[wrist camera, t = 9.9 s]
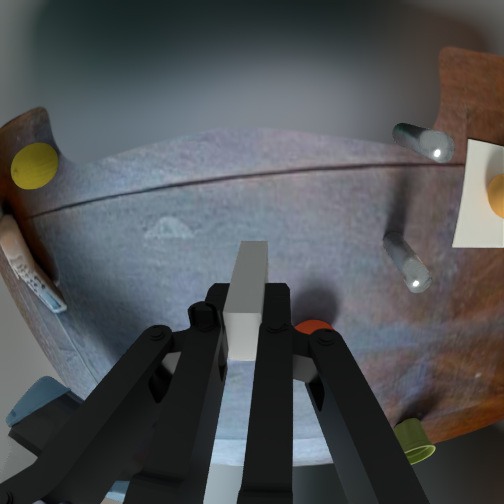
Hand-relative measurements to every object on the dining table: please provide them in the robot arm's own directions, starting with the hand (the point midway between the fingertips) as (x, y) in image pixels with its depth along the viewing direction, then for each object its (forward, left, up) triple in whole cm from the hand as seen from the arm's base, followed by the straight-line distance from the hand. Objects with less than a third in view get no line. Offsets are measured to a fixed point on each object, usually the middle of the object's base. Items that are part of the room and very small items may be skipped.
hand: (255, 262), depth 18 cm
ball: (+30, +1, -14) cm, 33 cm away
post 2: (+15, -6, -16) cm, 23 cm away
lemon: (-27, +6, -17) cm, 32 cm away
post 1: (+15, +6, -16) cm, 23 cm away
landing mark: (+31, 0, -16) cm, 35 cm away
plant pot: (+30, -50, -17) cm, 61 cm away
